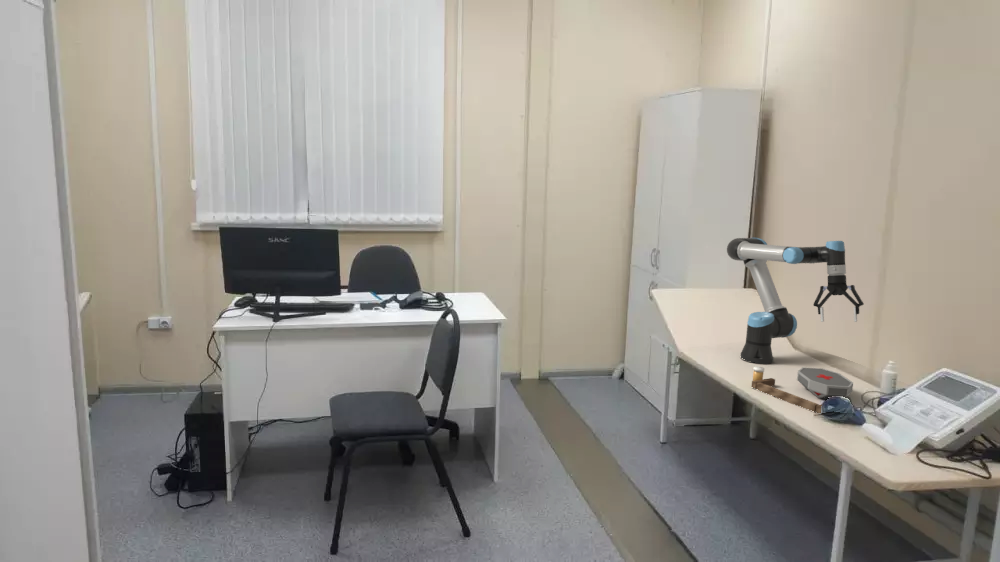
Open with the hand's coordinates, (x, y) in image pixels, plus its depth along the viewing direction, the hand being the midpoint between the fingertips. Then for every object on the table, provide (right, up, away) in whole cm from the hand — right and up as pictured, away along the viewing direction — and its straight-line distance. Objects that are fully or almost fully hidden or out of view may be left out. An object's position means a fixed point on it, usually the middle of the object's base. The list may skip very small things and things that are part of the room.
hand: (838, 321), depth 296 cm
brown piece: (-33, -30, -29) cm, 53 cm away
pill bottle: (-42, -26, -12) cm, 51 cm away
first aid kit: (-18, -29, -21) cm, 40 cm away
